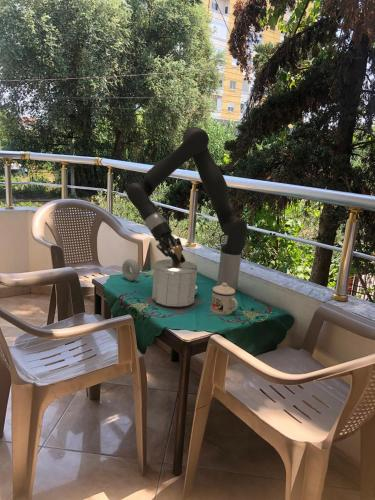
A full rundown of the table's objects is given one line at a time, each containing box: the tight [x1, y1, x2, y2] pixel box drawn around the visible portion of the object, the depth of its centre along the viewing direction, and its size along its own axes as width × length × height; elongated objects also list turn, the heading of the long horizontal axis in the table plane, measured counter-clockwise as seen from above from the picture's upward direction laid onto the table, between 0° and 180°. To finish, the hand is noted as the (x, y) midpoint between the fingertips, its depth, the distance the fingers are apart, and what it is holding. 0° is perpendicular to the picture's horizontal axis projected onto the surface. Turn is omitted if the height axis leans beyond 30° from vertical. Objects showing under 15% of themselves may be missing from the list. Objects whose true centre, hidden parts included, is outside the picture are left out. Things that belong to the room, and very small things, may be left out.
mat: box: [140, 295, 205, 315], centre depth 164 cm, size 18×19×1 cm
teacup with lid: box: [210, 283, 239, 316], centre depth 158 cm, size 12×9×12 cm
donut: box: [121, 258, 140, 282], centre depth 184 cm, size 10×4×10 cm, turn 48°
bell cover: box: [151, 244, 198, 307], centre depth 161 cm, size 17×17×22 cm
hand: (181, 262), depth 159 cm, fingers closed on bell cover, 3 cm apart
